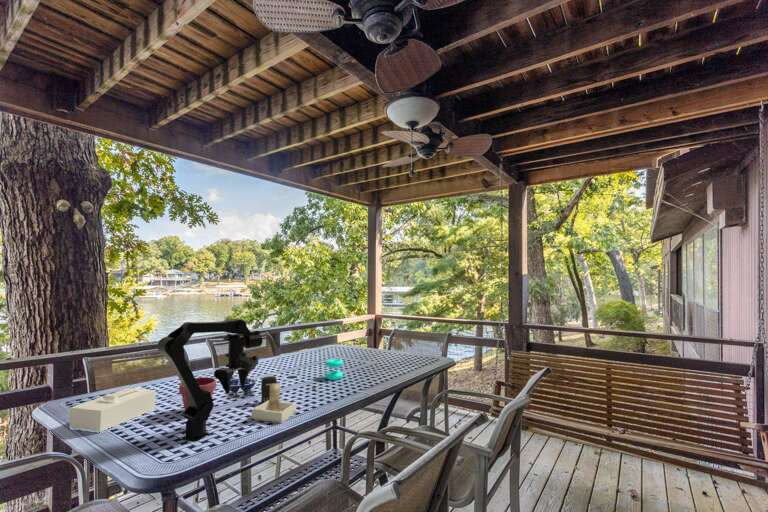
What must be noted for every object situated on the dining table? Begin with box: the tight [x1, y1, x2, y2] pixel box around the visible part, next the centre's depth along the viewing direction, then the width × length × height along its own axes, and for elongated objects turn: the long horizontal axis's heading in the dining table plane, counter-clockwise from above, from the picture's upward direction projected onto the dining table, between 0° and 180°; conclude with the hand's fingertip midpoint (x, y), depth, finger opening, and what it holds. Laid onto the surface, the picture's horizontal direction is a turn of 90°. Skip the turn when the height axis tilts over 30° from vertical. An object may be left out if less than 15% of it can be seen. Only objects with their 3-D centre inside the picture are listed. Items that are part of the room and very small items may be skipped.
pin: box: [269, 382, 281, 412], centre depth 155 cm, size 4×4×12 cm
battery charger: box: [260, 375, 278, 404], centre depth 172 cm, size 7×4×11 cm, turn 113°
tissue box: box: [69, 385, 157, 432], centre depth 152 cm, size 14×25×11 cm, turn 168°
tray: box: [251, 401, 297, 424], centre depth 155 cm, size 12×14×4 cm
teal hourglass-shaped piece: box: [325, 358, 344, 381], centre depth 212 cm, size 10×10×10 cm
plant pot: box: [178, 376, 217, 411], centre depth 160 cm, size 14×14×13 cm
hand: (235, 390), depth 147 cm, fingers open, 9 cm apart
